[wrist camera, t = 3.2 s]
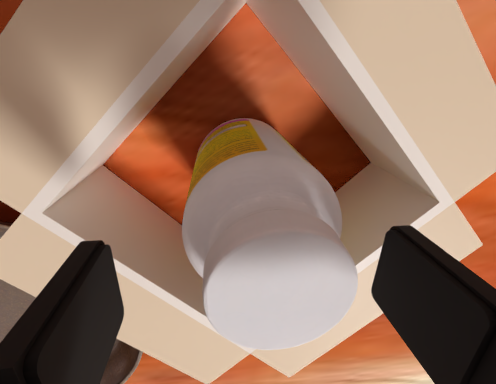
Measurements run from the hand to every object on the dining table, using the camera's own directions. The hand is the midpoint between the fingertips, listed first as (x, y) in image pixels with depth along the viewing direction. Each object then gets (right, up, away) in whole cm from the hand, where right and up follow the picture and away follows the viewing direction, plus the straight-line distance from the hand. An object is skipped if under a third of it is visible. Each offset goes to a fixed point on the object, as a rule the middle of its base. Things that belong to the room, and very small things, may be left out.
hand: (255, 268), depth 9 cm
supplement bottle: (-1, +5, +11) cm, 12 cm away
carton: (-1, +5, +10) cm, 11 cm away
